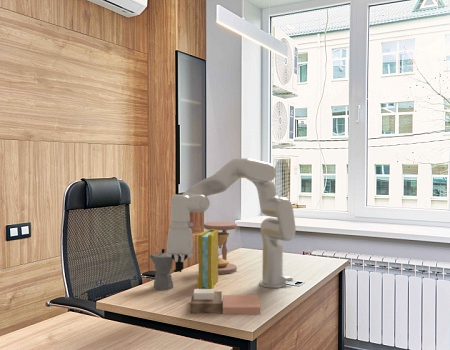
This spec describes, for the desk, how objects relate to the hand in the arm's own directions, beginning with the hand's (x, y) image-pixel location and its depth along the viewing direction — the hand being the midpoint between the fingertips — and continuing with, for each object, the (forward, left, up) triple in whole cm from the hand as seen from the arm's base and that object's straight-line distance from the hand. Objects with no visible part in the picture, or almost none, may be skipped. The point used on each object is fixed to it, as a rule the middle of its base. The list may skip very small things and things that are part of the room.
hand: (179, 271), depth 186 cm
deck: (-11, 0, -15) cm, 18 cm away
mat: (-25, 0, -15) cm, 29 cm away
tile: (-10, 0, -11) cm, 15 cm away
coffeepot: (+9, -28, -15) cm, 33 cm away
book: (-11, -33, -15) cm, 38 cm away
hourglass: (-16, -61, -15) cm, 65 cm away
